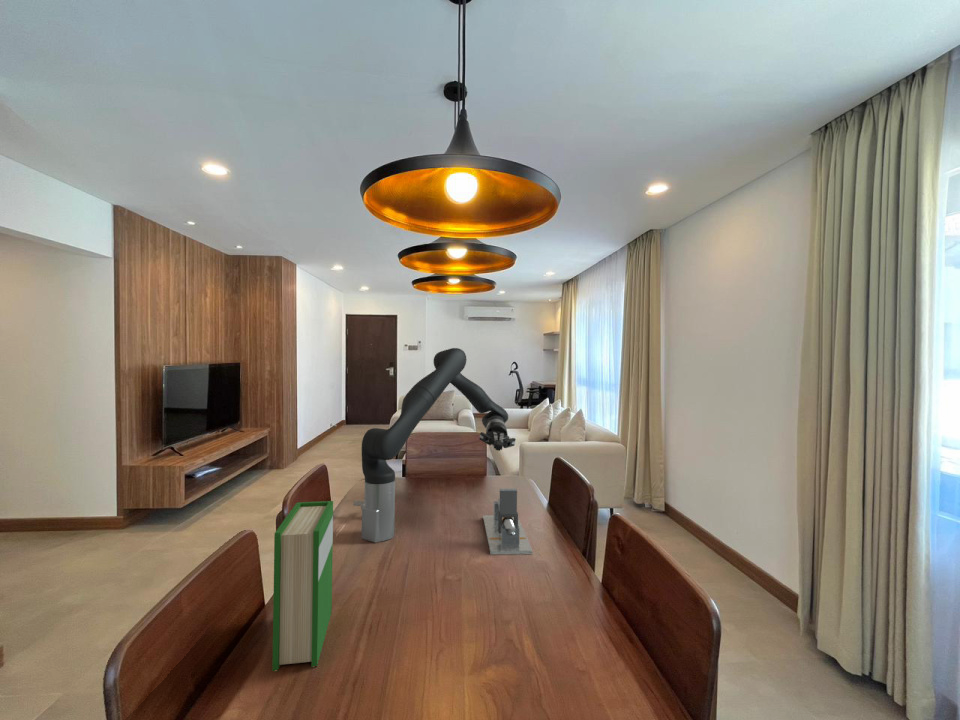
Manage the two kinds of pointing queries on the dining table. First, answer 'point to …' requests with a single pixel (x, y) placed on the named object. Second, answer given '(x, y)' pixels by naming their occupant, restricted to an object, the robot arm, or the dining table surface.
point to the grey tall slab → (507, 506)
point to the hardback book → (302, 583)
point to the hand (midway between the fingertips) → (498, 447)
